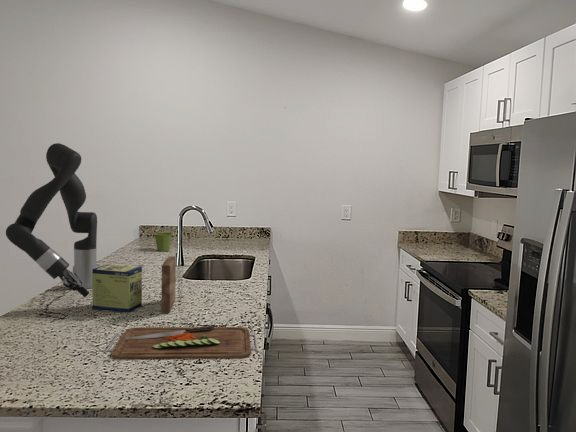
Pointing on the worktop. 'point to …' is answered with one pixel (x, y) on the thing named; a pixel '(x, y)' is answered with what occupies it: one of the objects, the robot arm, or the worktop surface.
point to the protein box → (117, 288)
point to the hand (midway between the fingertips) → (87, 295)
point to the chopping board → (183, 343)
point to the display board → (168, 284)
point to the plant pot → (163, 241)
